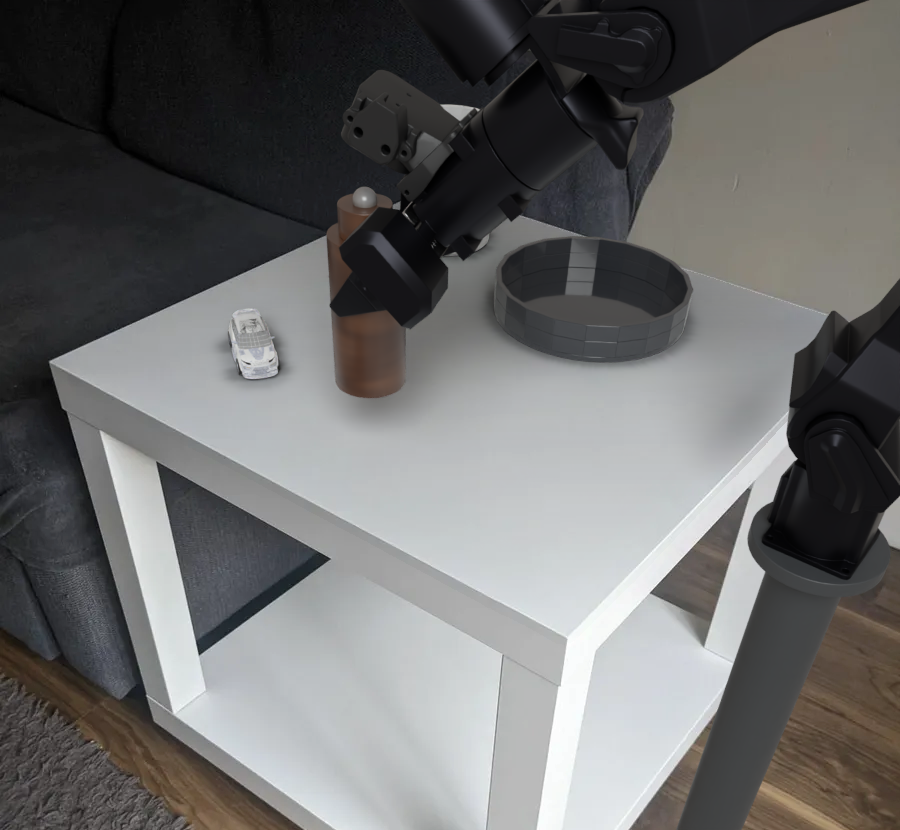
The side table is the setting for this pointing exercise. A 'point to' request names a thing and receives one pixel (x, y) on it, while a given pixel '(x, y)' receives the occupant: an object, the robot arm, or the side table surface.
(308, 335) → the side table surface
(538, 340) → the pan
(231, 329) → the toy car
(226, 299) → the side table surface
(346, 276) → the pepper mill
